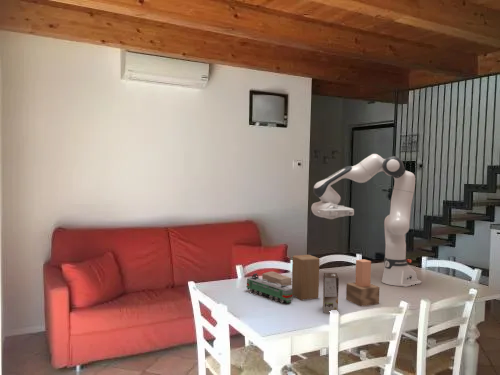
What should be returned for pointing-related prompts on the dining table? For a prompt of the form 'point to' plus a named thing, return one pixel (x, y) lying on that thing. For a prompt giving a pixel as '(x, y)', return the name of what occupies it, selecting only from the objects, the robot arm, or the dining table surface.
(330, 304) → the coffee box
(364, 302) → the tower base
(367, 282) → the terracotta block
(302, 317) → the dining table surface
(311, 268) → the wooden block
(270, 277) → the brick
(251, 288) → the toy train
